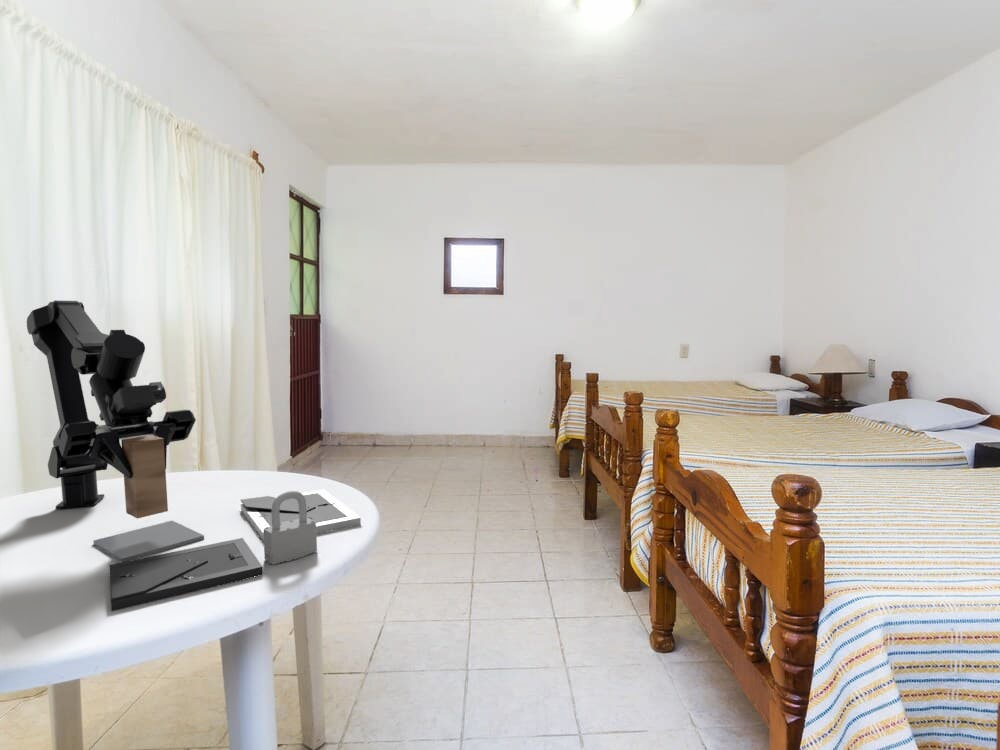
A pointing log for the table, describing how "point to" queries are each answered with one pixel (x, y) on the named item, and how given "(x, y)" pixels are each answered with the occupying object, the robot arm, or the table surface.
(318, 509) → the picture frame
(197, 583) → the picture frame
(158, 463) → the block
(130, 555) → the coaster
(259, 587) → the table surface
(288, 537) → the padlock
